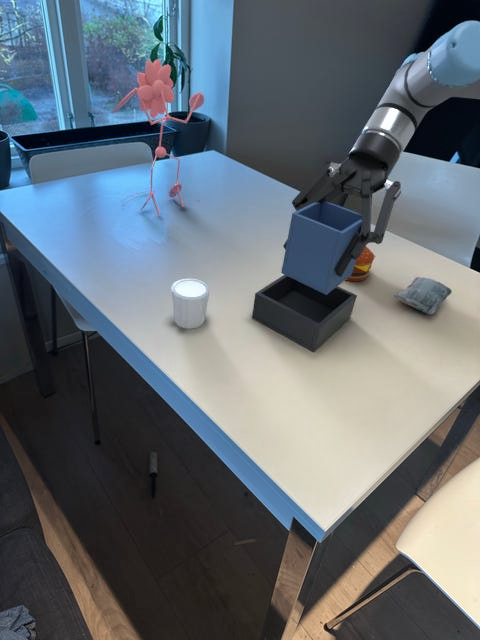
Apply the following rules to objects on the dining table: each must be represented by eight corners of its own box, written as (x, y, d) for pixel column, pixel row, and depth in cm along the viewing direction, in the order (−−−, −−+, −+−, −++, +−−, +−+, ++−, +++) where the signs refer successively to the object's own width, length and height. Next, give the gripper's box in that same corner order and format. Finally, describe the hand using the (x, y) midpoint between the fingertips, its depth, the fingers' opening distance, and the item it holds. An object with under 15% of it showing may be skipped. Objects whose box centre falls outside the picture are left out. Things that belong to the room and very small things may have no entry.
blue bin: (351, 275, 78) (369, 216, 72) (326, 295, 72) (342, 233, 66) (308, 255, 82) (320, 198, 76) (281, 273, 76) (292, 213, 70)
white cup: (191, 304, 88) (193, 273, 83) (215, 321, 84) (217, 290, 80) (163, 317, 83) (163, 285, 79) (186, 335, 80) (187, 303, 76)
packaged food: (390, 305, 95) (397, 285, 92) (411, 284, 102) (418, 266, 99) (429, 323, 91) (439, 304, 88) (448, 301, 99) (457, 282, 96)
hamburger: (371, 268, 107) (380, 243, 103) (363, 287, 100) (371, 261, 96) (334, 256, 109) (340, 232, 105) (323, 274, 102) (329, 248, 98)
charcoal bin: (349, 319, 89) (357, 295, 86) (313, 352, 80) (320, 327, 76) (291, 290, 95) (296, 266, 92) (251, 317, 86) (255, 293, 83)
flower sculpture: (206, 200, 129) (214, 62, 108) (137, 226, 112) (131, 68, 90) (168, 184, 135) (168, 51, 114) (98, 206, 118) (83, 54, 97)
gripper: (443, 177, 72) (374, 296, 72) (327, 141, 82) (265, 246, 81) (445, 149, 66) (369, 280, 65) (319, 114, 75) (251, 228, 75)
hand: (311, 261), depth 73 cm, fingers closed on blue bin, 9 cm apart
